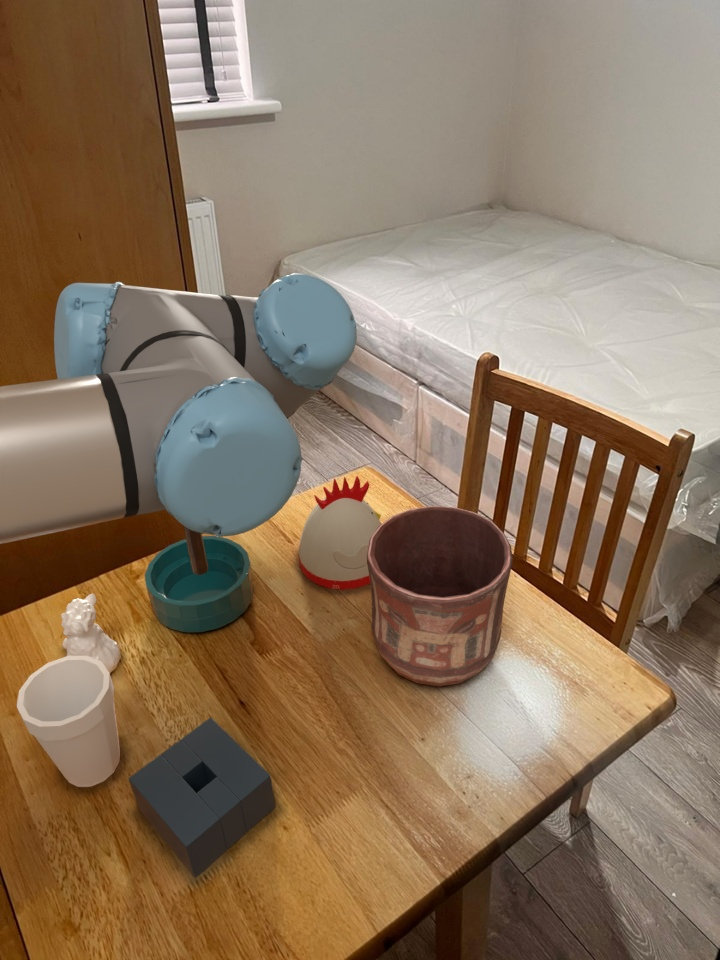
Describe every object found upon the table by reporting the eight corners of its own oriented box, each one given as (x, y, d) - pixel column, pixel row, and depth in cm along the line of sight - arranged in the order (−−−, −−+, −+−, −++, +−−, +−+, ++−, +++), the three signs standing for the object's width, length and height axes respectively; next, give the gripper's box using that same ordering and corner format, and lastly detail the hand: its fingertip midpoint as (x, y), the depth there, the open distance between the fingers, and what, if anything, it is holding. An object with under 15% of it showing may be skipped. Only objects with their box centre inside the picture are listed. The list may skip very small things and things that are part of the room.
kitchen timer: (399, 579, 109) (400, 498, 101) (310, 597, 107) (303, 516, 98) (374, 524, 120) (373, 447, 112) (292, 539, 118) (284, 461, 109)
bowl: (157, 647, 99) (149, 615, 96) (149, 578, 111) (141, 547, 107) (262, 622, 103) (258, 590, 99) (244, 557, 114) (240, 527, 111)
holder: (195, 878, 74) (185, 847, 70) (139, 810, 80) (127, 778, 76) (275, 807, 80) (270, 775, 76) (217, 749, 86) (210, 716, 83)
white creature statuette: (68, 641, 100) (45, 576, 94) (131, 638, 101) (112, 573, 94) (46, 697, 93) (19, 631, 86) (115, 694, 93) (93, 628, 86)
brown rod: (193, 576, 84) (158, 409, 71) (191, 566, 85) (157, 400, 73) (209, 573, 84) (177, 406, 72) (207, 563, 86) (175, 398, 73)
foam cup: (77, 722, 90) (48, 649, 82) (147, 734, 88) (124, 661, 80) (33, 792, 82) (-2, 719, 74) (109, 807, 80) (80, 733, 73)
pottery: (351, 621, 102) (347, 520, 92) (465, 592, 107) (474, 493, 96) (395, 722, 89) (396, 616, 78) (524, 684, 93) (542, 579, 83)
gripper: (188, 477, 58) (124, 545, 77) (326, 409, 66) (237, 486, 86) (140, 397, 58) (88, 485, 77) (283, 339, 66) (204, 431, 86)
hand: (166, 485), depth 81 cm, fingers closed on brown rod, 2 cm apart
